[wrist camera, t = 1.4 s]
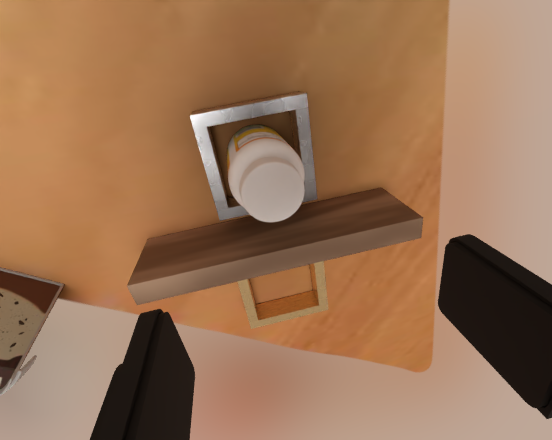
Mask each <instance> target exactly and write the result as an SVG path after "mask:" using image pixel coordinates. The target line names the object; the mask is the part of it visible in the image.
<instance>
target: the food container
mask: <svg viewBox="0 0 552 440" xmlns="http://www.w3.org/2000/svg"><path fill="white" fill-rule="evenodd" d="M63 286H64V284H63V283H59V282H55V281H51V280H47V279H44V278H40V277H36V276H32V275H28V274H24V273H20V272H17V271H13V270H9V269H5V268H1V267H0V395H2V394H3V393H5V392H6V391H7V390H9V389H10V388H11V387H12V386H13V385H14V384H15V383H16V382H17V381H18V380H19V379H20V378H21V377H22V376H23V375H24V374H25V373H26V372H27V371H28V370H29V368H30V367H31V366H32V364H33V363H34V361H35V359H36V357H37V356H36V355H35V356H34V357H33V358H32V359H31V360H30V361H29V362H28V363H27V364H26V365H25V366H24V367H23V368H22V369H20V367H21V365H22V364H23V362H24V360H25V358H26V356H27V354H28V352H29V350H30V349H31V347H32V345H33V343H34V341H35V339H36V337H37V336H38V334H39V332H40V330H41V328H42V326H43V324H44V322H45V321H46V318H47V317H48V315H49V313H50V311H51V309H52V308H53V306H54V304H55V302H56V300H57V298H58V296H59V294H60V293H61V291H62V289H63Z"/></svg>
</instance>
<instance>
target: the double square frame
mask: <svg viewBox="0 0 552 440" xmlns="http://www.w3.org/2000/svg"><path fill="white" fill-rule="evenodd" d="M285 111H290V117H291V125H292V132H293V140H294V148H295V152H296V153H297V154H298V156H299V157H300V159H301V161H302V164H303V167H304V174H305V177H304V189H305V191H304V198H303V201H302V202H307V201H312V200H316V199H317V191H316V181H315V171H314V161H313V151H312V141H311V131H310V121H309V111H308V101H307V93H304V92H300V91H298V92H293V93H288V94H283V95H277V96H272V97H267V98H262V99H256V100H251V101H246V102H241V103H235V104H230V105H225V106H220V107H214V108H209V109H204V110H199V111H193V112H192V113H191V114H190V119H191V122H192V126H193V129H194V133H195V136H196V139H197V143H198V146H199V150H200V153H201V157H202V160H203V164H204V167H205V171H206V174H207V178H208V181H209V185H210V188H211V191H212V195H213V198H214V202H215V205H216V209H217V212H218V216H219V219H220V221H221V220H225V219H230V218H234V217H239V216H243V215H248V214H249V213H248V212H247V211H246V209H245V208H244V207H243V206H241V205H240V204H239V203H238V202H237V201H236V199H235V198H234V196H232V197H228V196H227V192H226V189H225V185H224V181H223V177H222V173H221V170H220V166H219V162H218V158H217V154H216V150H215V147H214V143H213V139H212V135H211V131H210V128H209V126H213V125H218V124H224V123H229V122H234V121H239V120H244V119H249V118H254V117H259V116H264V115H270V114H275V113H280V112H285ZM310 271H311V279H312V287H313V291H309V292H305V293H301V294H297V295H293V296H289V297H285V298H281V299H277V300H272V301H268V302H264V303H260V304H256V303H255V299H254V295H253V292H252V288H251V284H250V280H249V279H246V280H241V281H237V282H238V285H239V288H240V292H241V295H242V299H243V302H244V306H245V309H246V313H247V316H248V320H249V323H250V327H251V329H253V328H257V327H261V326H265V325H269V324H273V323H277V322H281V321H285V320H289V319H293V318H297V317H301V316H305V315H309V314H313V313H317V312H321V311H325V310H328V301H327V291H326V281H325V271H324V261H322V262H318V263H313V264H310Z"/></svg>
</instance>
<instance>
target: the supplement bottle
mask: <svg viewBox="0 0 552 440" xmlns="http://www.w3.org/2000/svg"><path fill="white" fill-rule="evenodd" d="M227 169H228V182H229V187H230V190H231V192H232V195H233V196H234V198H235V199H236V201H237V202H238V203H239V204H240V205H241V206H243V207H244V208H245V209H246V211H247V212H248V213H249V214H250V215H251V216H253V217H254V218H256V219H258V220H260V221H263V222H278V221H282V220H284V219H286V218H288V217H290V216H291V215H292V214H294V213H295V212H296V211H297V210H298V208H299V207H300V205H301V203H302V201H303V198H304V191H305V189H304V177H305V174H304V167H303V164H302V161H301V159H300V157H299V156H298V154H297V153H296V152H295V151H294V149H293V148H292V147H291V146H290V145H289V144H288V143H287V142H286V141H285V140H284V139H283V138H282V137H281V136H280V135H279V134H278V133H277V132H276V131H274V130H273V129H271V128H270V127H267V126H264V125H250V126H246V127H244V128H242V129H240V130H239V131H238V132H236V133H235V134H234V136H233V137H232V138H231V140H230V142H229V144H228V148H227Z"/></svg>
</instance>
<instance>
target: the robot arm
mask: <svg viewBox="0 0 552 440" xmlns="http://www.w3.org/2000/svg"><path fill="white" fill-rule="evenodd" d="M438 306H439V309H440V310H441V312H442V313H443V314H444V315H445V316H446V318H447V319H448V320H449V321H450V322H451V323H452V324H453V325H454V326H455V327H456V328H457V329H458V330H459V331H460V333H461V334H462V335H463V336H464V337H465V338H466V339H467V340H468V341H469V342H470V343H471V344H472V345H473V346H474V347H475V348H476V350H477V351H478V352H479V353H480V354H481V355H482V356H483V357H484V358H485V359H486V360H487V361H488V362H489V363H490V364H491V365H492V367H493V368H494V369H495V370H496V371H497V372H498V373H499V374H500V375H501V376H502V377H503V378H504V379H505V380H506V381H507V382H508V384H509V385H510V386H511V387H512V388H513V389H514V390H515V391H516V392H517V393H518V394H519V395H520V396H521V398H523V400H524V401H525V402H526V403H527V404H529V405H530V406H532V407H533V408H537V409H538V410H539V411H540V412H541V413H542V414H543V415H544V416H545V417H546V419H549V418H552V285H551V284H550V283H548V282H546V281H545V280H543V279H542V278H540V277H539V276H537V275H535V274H534V273H532V272H531V271H529V270H527V269H526V268H524V267H523V266H521V265H520V264H518V263H516V262H515V261H513V260H512V259H510V258H508V257H507V256H505V255H504V254H502V253H500V252H499V251H497V250H496V249H494V248H492V247H491V246H489V245H488V244H486V243H484V242H483V241H481V240H480V239H478V238H477V237H475V236H473V235H470V234H468V235H463V236H459V237H455V238H452V239H450V241H449V244H447V245H446V247H445V254H444V262H443V269H442V277H441V284H440V291H439V299H438ZM194 381H195V372H194V367H193V364H192V362H191V360H190V358H189V356H188V353H187V351H186V349H185V347H184V345H183V342H182V341H181V338H180V336H179V334H178V332H177V329H176V327H175V325H174V323H173V321H172V318H171V316H170V314H169V313H168V312H165V313H163V311H162V310H161V309H157V310H153V311H149V312H144V313H141V314H140V315H139V318H138V321H137V323H136V326H135V329H134V332H133V335H132V338H131V341H130V344H129V347H128V350H127V353H126V355H125V359H124V362H123V364H120V365H119V366H118V367H117V368H116V370H115V372H114V374H113V377H112V380H111V382H110V385H109V388H108V391H107V393H106V396H105V399H104V402H103V405H102V407H101V410H100V413H99V415H98V418H97V421H96V424H95V426H94V429H93V432H92V435H91V438H90V440H189V439H190V428H191V415H192V405H193V393H194Z"/></svg>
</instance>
